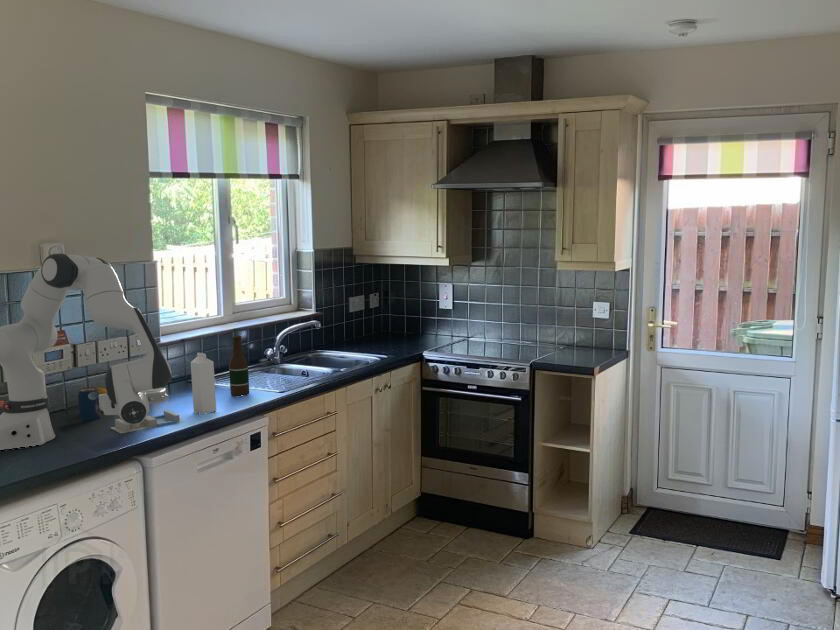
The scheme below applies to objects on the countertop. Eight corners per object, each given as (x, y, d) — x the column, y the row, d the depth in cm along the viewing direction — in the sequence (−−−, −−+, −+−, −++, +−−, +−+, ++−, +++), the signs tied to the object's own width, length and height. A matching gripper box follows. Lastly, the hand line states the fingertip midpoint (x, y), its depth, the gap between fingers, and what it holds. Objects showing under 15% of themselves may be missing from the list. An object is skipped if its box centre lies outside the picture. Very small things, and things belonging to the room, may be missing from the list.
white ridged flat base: (122, 438, 261) (121, 426, 261) (109, 431, 270) (108, 420, 269) (185, 425, 275) (185, 414, 275) (172, 419, 284) (171, 408, 283)
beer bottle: (236, 397, 316) (232, 338, 313) (226, 394, 322) (223, 336, 319) (253, 394, 321) (250, 335, 318) (243, 391, 327) (240, 333, 324)
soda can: (102, 422, 282) (100, 389, 281) (81, 425, 279) (79, 392, 277) (99, 418, 288) (96, 386, 287) (78, 421, 285) (75, 388, 283)
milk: (207, 409, 298) (204, 351, 296) (216, 411, 294) (213, 352, 292) (193, 412, 294) (189, 353, 291) (202, 414, 290) (198, 355, 287)
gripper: (168, 387, 247) (165, 380, 260) (96, 395, 240) (98, 387, 253) (169, 407, 247) (167, 399, 260) (98, 416, 241) (100, 406, 253)
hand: (133, 393), depth 256 cm, fingers open, 8 cm apart
